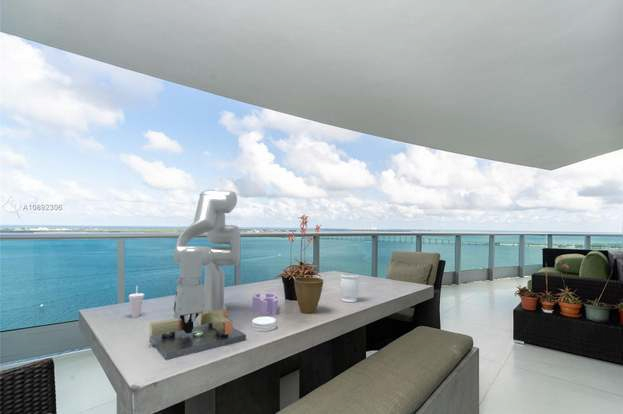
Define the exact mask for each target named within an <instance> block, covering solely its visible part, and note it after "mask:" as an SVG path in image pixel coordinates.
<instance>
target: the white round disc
mask: <svg viewBox="0 0 623 414" xmlns="http://www.w3.org/2000/svg"><path fill="white" fill-rule="evenodd" d="M251 323H252V324H251V329H252V330H253V331H255V332H256V331H257V332H265V333H266V332H271V331H273V330H276V327H277V319H276V318H274V317H273V316H258V317H255V318H253V319H252V321H251Z"/></svg>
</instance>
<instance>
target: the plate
mask: <svg viewBox="0 0 623 414" xmlns="http://www.w3.org/2000/svg"><path fill="white" fill-rule="evenodd" d="M246 340H247V334H245V333H244V332H242V331H241V330H239V329H237V328H235V327H233V326H232V333H231V334H228V335H226V336H217V335H216V329H215V328H213V327H210V326H208V324H204V325H196V326H193V330H192V333H189V334H187V333H186V332H185V331H184V330H182V331H177V332H175V336H174V337H171V338H163V337H162V335H157V336H151V335H150V334H149V342H150V343H151V345H152V346H153V348H155V349H156V350H157V352H159V354H160V355H161V357H163V358H164V359H165V360H171V359H174V358H178V357H181V356H182V357H183V356H186V355H187V356H188V355H191V354H195V353H199V352H203V351H207V350H210V349H211V350H212V349H215V348H219V347H223V346H226V345H230V344H234V343H235V344H236V343H239V342H242V341H243V342H244V341H246Z"/></svg>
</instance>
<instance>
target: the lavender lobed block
mask: <svg viewBox="0 0 623 414" xmlns="http://www.w3.org/2000/svg"><path fill="white" fill-rule="evenodd" d="M278 302H279V300H278V295H277V293H272V292H268V291H267V292H266V293H265V297H261V293H259V292H255V293H254V294H253V295H252V302H251V303H252V307H251V309H252V311H253V312H257V313H259V316H261V317H268V313H272V316H277V315H278V304H279V303H278Z"/></svg>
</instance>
